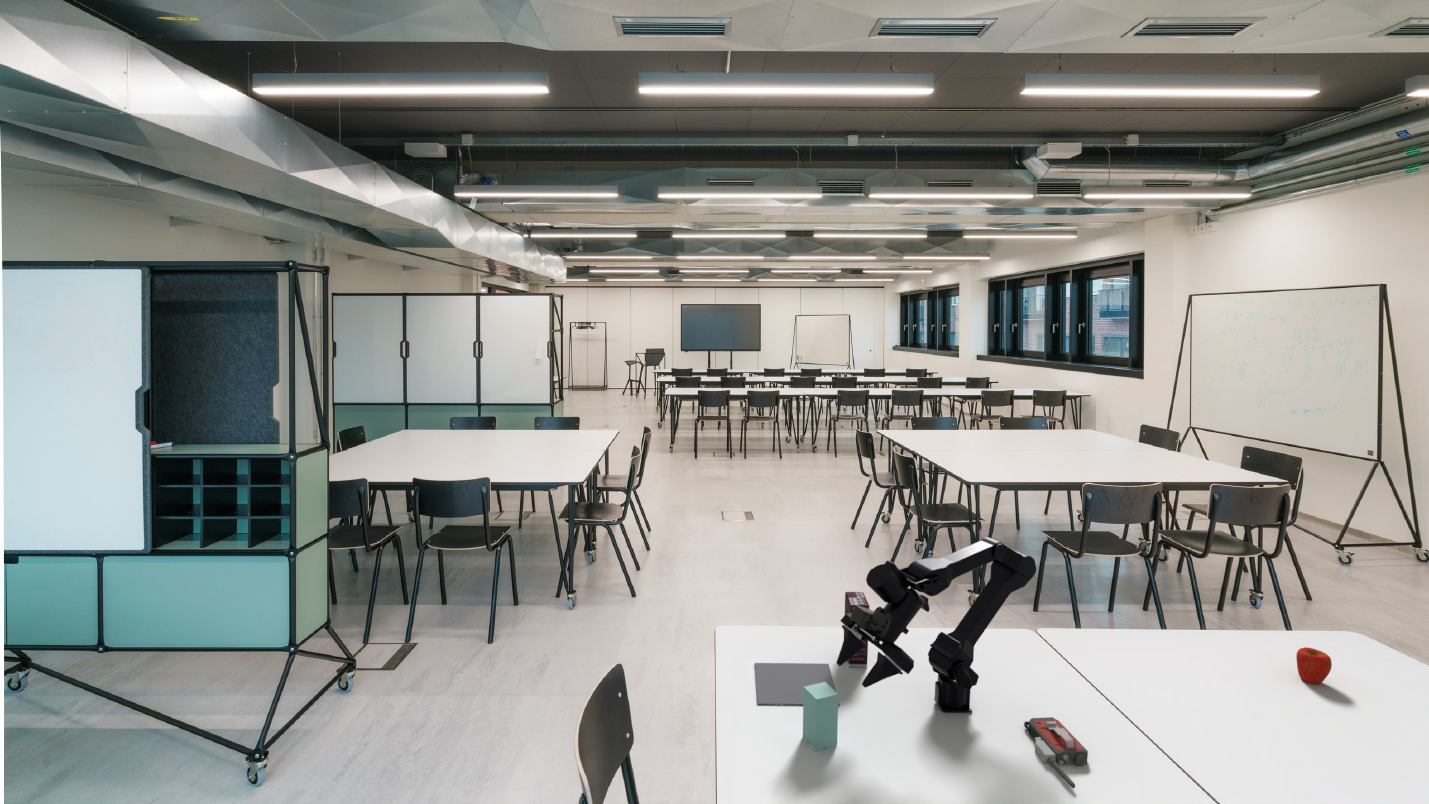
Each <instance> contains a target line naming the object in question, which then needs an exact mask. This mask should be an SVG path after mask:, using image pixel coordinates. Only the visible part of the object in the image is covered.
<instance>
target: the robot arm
mask: <svg viewBox="0 0 1429 804" xmlns="http://www.w3.org/2000/svg"><path fill="white" fill-rule="evenodd" d="M990 563H991V565H990V575H989V576H990V578H989V580H988V581H987V583H986V584H985V586H984V587H983V589H982V590H981V592H980V593H979V595H978V596H977V597H976V598H975V600H974V602H973V603H972V605H971V606H970V607H969V608H968V610H967V611H966V613H965V614H964V616H963V617H962V618H961V620H960V621H959V623H958V625H957V626H956V627H955V629H954V630H953V631H951V632H949V633H945V632H943V631H941V632H939V633H938V635H937V636H936V638H935V640H934V641H933V642H932V643H931V644H930V645H929V646H930V649H929V651H928V653H927V656H928V663H929V665H930V667H931V668H932V671H933V672H934V673H936V674H937V680H936V681H935V684H934V700H935V701H936V703H937V705H938V706H939V709H941V712H943V713H972V712H973V707H972V706H971V704H970V703H971V689H972V687H974V686H976V685H977V683H978V681H979V677H980V676H979V675H978V673H977V672H976V671H975V670H974V669H973V668H972V667H971V666H972V664H973V663H974V657H975V656H974V655H975V653H974V651H975V646H976V644H977V642H978V641H979V640H980V638H981V637H982V635H983V634H984V632H985V631H986V629H987V628H988V626H989V625H990V623H991V622H992V621H993V619H994V618H995V617H996V615H997V613H998V612H999V611H1000V609H1001V608H1002V607H1003V604H1004V603H1005V602H1006V600H1007V599H1008V597H1009V596H1010V595H1011V594H1012V593H1013V592H1016V591H1019V590H1020V589H1022V588H1024V587H1026V586H1027V584H1028V583H1029V582H1030V581H1031V580H1032V579H1033V577H1034V576H1035V574H1036V572H1037V566H1036V560H1035V559H1034V557H1033V556H1031V555H1029V554H1025V553H1024V552H1021V551H1018V550H1016V549H1013V548H1011V547H1009V546H1007V545H1006V544H1005V543H1003V542H1002V541H999V540H997V539H994V538H992V537H988V536H986V537H982V538H981V539H980V540H979V541H977V542H974V543H972V544H971V545H968V546H966V547H963V548H962V549H959V550H956V551H954V552H952V553H949V554H947V555H945V556H943V557H938V558H936V557H934V558H933V557H928V558H927V557H926V558H923V559H917V560H914V561H912V562H911V563H910V564H909V565H907V566H904V567H901V568H899V567H898V566H897V565H896V564H895V563H894V562H893V561H891V560H889V559H888V560H886V561H885V563H883V564H878V565H876V566H875V567H873V568H871V569H870V570H869V571H868V573H867V575H866V578H865V581H866V584H867V586H868V587H869V588H870V589H871V590H872V591H873V592H874V593H875V594H876V595H878V597H879V598H880V599H881V600H882V601H883V602H884V603H886V604H885V605H884V607H882V606H877V607H876V608H875V609H874V610H872V609H870V608H869V609H867V608H864V607H861V606H858V605H855V607H854V609H853V612H852V614H851V613H848V614H845V613H844V615H843V617H842V618H841V619H840V620H839V621H840V622H841V624H842V625H841V629H843V641H842V643H841V644H842V645H841V648H840V651H839V654H838V656H837V659H836V662H835V663H836V664H837V665H838V667H841V666H843V665H844V664H845V663H847V661H848V660H849V659H850V658H851V657H852V656H853V655H854V654H855V653H857V652H858V651H859V650H860V649H861V648H862V647H863V646H865V644H864V643H863V642H862V641H867V640H868V643H871V645H874V647H876V648H877V649H879V650H880V651H882V653H881V652H880V651H879V650H878V651H877V656H876V662H875V663H874V665H873V666H872V667H871V669H870V671H869V672H868V673H867V675H866V676H865V678H864V679H863V681H862V683H861V686H863V688H869V687H870V686H872V685H875V684H876V683H879V682H881V681H883V680H886V679H888V678H891V677H893V676H896V675H903V674H904V673H905V674H906V675H910V673H911V672H912V670H913V669H914V666H915V660H914V659H913V658H912V657H911V656H910V655H909V654H908V653H906V651H905V650H903V648H901V647H900V646H898V645H897V644H895V642H896V641H898V638H899V637H900V636H901V635H902V634H904V635H908V633H909V631H910V630H909V629H908V628H907V627H908V625H909V624H910V623H911V622H912V620H913V619H914V618H915V616H916V615H917V614H918V613H919V611H921V609H922V610H923V611H925V612H927V613H928V612H930V604H929V598H928V597H926V596H925V595H927V596H929V597H935V596H938V595H939V594H941V593H942V592H943V591H945V590H947V589H948V588H949V587H950V586H951V584H952V581H953V580H955V579H956V578H959V577H961V576H964V575H965V574H967V573H970V572H972V571H974V570H977V569H978V568H979V569H980V567H983V566H985V565H988V564H990ZM909 587H910V588H909ZM918 592H919V593H924V594H925V595H923V594H919V593H918ZM844 625H845V626H844ZM860 639H861V640H862V641H861V640H860ZM902 671H903V672H902Z"/></svg>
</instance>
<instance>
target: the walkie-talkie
mask: <svg viewBox="0 0 1429 804" xmlns="http://www.w3.org/2000/svg"><path fill="white" fill-rule="evenodd" d="M1023 727H1024V728H1025V729H1026V730H1027V732H1028V733H1030V734H1029V735H1030V736H1031V738H1033V740H1034V752H1035V754H1036V755H1037V756H1038V757H1039V759H1040V760H1041V761H1042V763H1043V764H1044V765H1050V766H1051V767H1052V768H1053V769H1054V770H1055V771H1056V773H1057V774H1058V775H1059V776H1060V777H1061V778H1062V779H1063V780H1064V781H1065V782H1066V783H1067V785H1068V786H1069V787H1070V788H1072V789H1075V788H1076V783H1075V782H1073V780H1072V779H1071V778H1070V777H1069V776H1068V774H1067V773H1066V772H1065V771H1064V770H1063V769H1062V767H1064V766H1065V765H1078V766H1084V765H1086V764H1088V758H1089V757H1088V755H1089V751H1088V750H1087V749H1086V748H1085V747H1084V746H1083V744H1082V743H1081V742H1080V741H1079V740H1078V739H1077V738H1076V737H1075V735H1073V734H1072V733H1071V732H1070V731H1069V730H1068V729H1067V728H1066V727H1065V726H1064V725H1063V723H1061V722H1060V720H1058V719H1056V718H1055V717H1049V716H1048V717H1032V718H1030V719H1029V721H1024V724H1023Z"/></svg>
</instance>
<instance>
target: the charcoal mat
mask: <svg viewBox="0 0 1429 804" xmlns="http://www.w3.org/2000/svg"><path fill="white" fill-rule="evenodd" d="M754 672H755V683H756V684H755V685H756V686H755V687H756V701H757V702H756V703H757V705H758V706H762V705H763V706H765V705H766V706H776V705H775V704H778V705H777V706H803V696H804V687H805V686H809V685H814V684H818V683H822V682H826V683H827V684H828V685H829V686H830V687H831V688H832V689H834V690H835V691H836V692H837V689H836V686H835V682H834V678H833V674H832V672H831V668H830V664H829V663H812V662H811V663H805V662H804V663H801V662H800V663H799V662H798V663H796V662H795V663H793V662H791V663H790V662H788V663H787V662H779V663H778V662H754ZM781 704H783V705H781ZM839 706H841V705H840V700H839V699H838V707H839Z"/></svg>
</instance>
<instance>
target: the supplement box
mask: <svg viewBox="0 0 1429 804" xmlns="http://www.w3.org/2000/svg"><path fill="white" fill-rule="evenodd" d="M855 605H858V606H861V607H864V608H867V609H870V605H869V602H868V599H867V598H866V595H865V593H864V592H862V591H845V594H844V615H845V614H848V613H851V614H852V612H853V609H854V607H855ZM843 625H844V624H843ZM844 626H845V625H844ZM860 640H861V639H860ZM861 641H862V640H861ZM862 642H863V643H864V644H865V646H863V647H862V648H861V649H860V650H859V651H858V652H857V653H855V654H854V655H853V656H852V657H851V658H850V659H849V660H848V661H846V663H847V665H848V666H847V667H848V668H867V667H868V653H869V652H868V651H869V650H868V649H869V641H868V640H867V641H862Z"/></svg>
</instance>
